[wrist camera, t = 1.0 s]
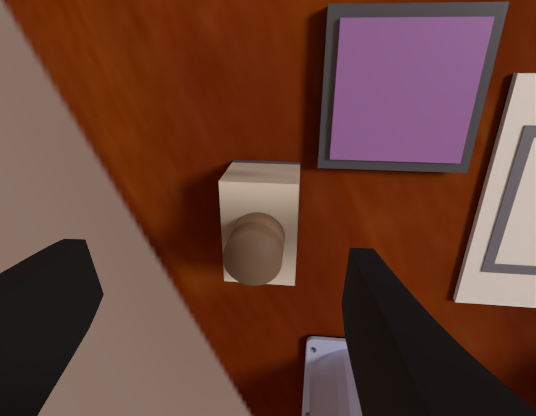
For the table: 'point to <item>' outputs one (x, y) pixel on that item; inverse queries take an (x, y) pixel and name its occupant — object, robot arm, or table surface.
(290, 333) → the table surface
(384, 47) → the ink pad
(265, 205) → the stamp
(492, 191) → the stamp board
